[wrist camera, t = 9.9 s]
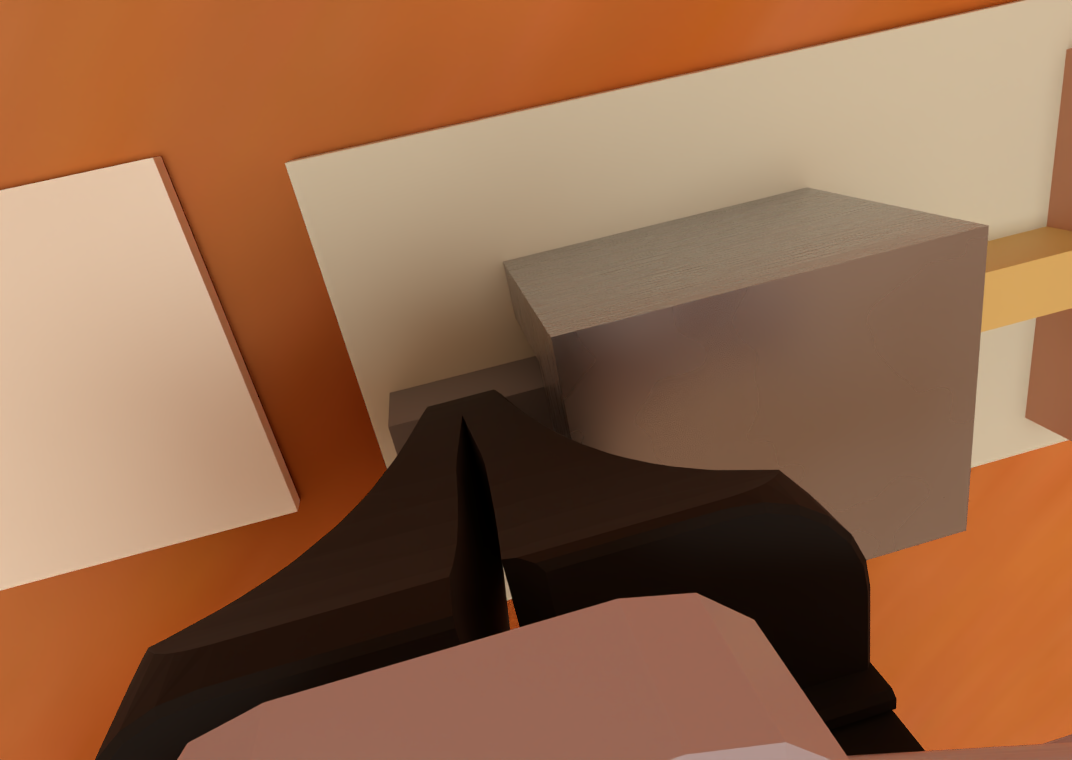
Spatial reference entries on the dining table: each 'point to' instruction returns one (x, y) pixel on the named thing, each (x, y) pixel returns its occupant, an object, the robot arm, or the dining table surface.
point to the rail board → (715, 202)
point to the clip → (776, 351)
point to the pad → (119, 381)
